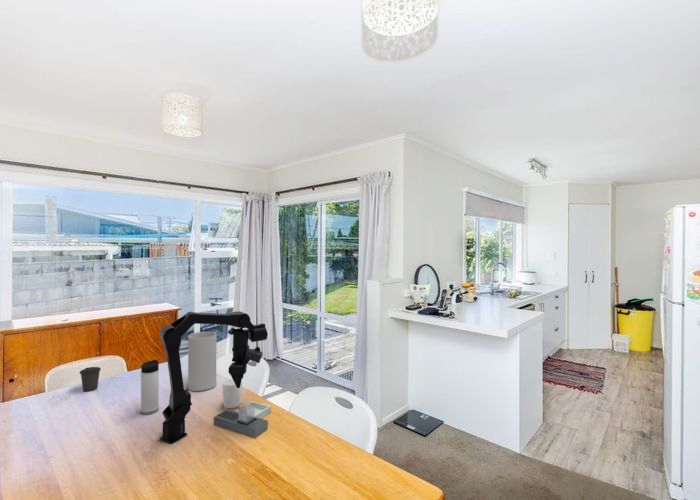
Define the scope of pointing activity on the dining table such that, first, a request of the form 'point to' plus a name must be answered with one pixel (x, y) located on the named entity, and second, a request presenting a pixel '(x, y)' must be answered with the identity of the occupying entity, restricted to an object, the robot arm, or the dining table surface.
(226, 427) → the rail
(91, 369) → the coffee cup
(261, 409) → the parts tray
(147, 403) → the travel mug
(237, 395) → the white cup
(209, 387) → the cylinder vase
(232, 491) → the dining table surface
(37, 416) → the dining table surface
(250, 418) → the brushed aluminium bar
